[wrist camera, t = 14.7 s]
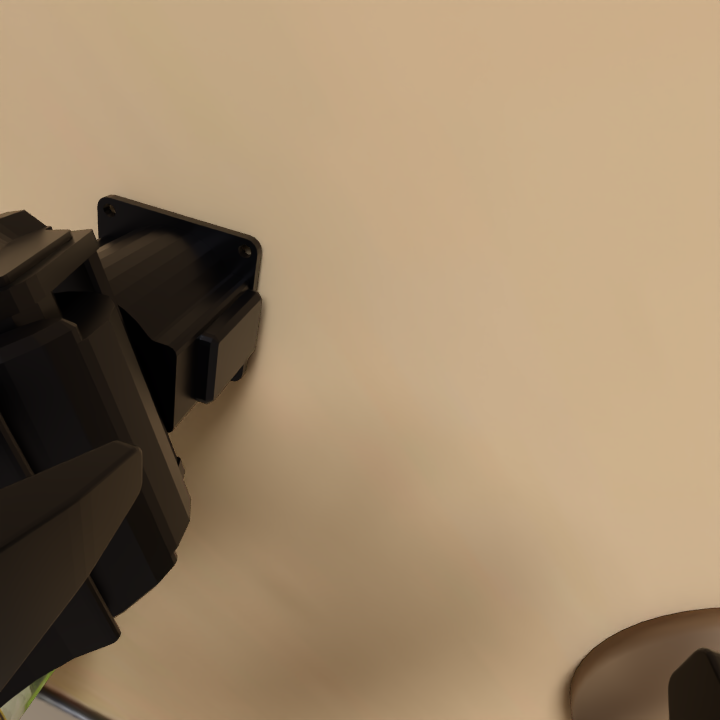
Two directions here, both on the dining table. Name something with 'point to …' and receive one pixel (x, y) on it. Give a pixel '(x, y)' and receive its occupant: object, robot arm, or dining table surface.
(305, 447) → the dining table surface
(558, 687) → the dining table surface
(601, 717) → the disc
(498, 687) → the dining table surface
